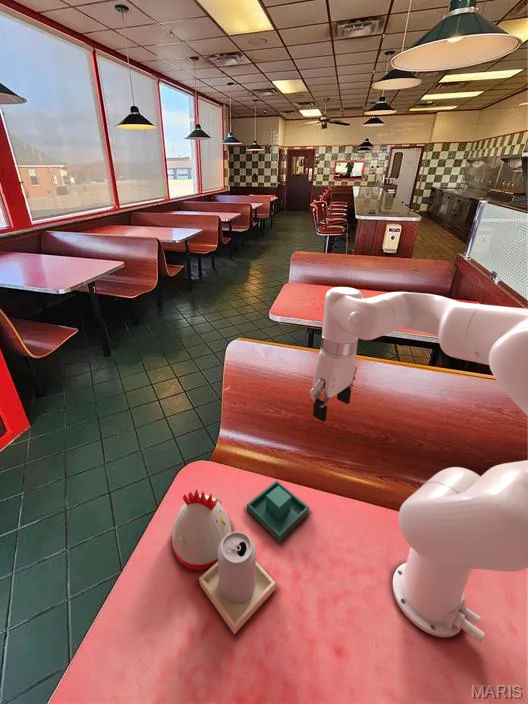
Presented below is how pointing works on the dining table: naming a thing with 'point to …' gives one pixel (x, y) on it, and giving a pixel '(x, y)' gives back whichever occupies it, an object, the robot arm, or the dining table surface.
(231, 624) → the cream tray
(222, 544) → the can
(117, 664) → the dining table surface
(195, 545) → the kitchen timer
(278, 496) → the block
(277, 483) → the green tray
